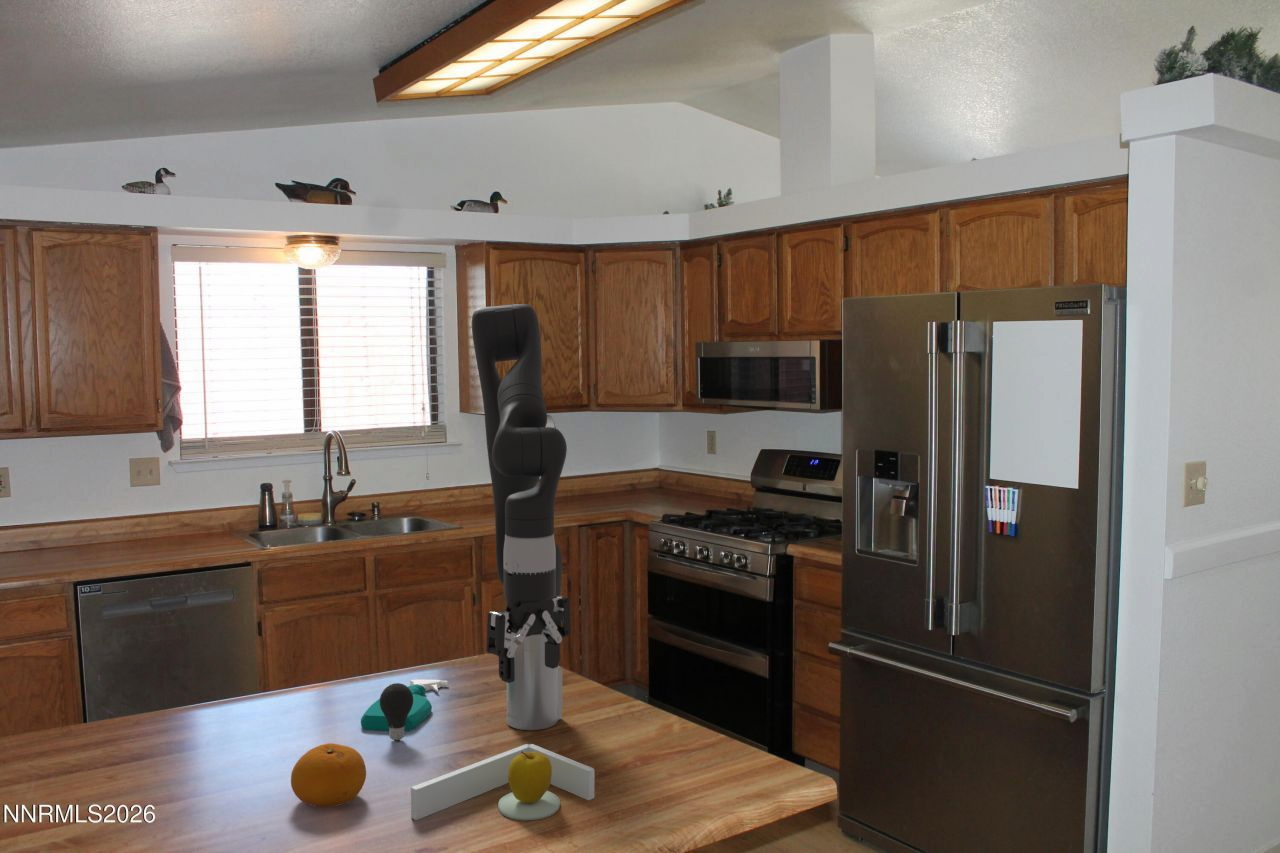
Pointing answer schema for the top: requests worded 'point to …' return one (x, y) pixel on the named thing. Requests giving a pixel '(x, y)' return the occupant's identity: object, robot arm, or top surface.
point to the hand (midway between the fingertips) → (529, 674)
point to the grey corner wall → (496, 780)
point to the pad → (529, 807)
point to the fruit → (328, 775)
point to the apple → (529, 776)
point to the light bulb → (396, 708)
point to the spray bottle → (417, 714)
